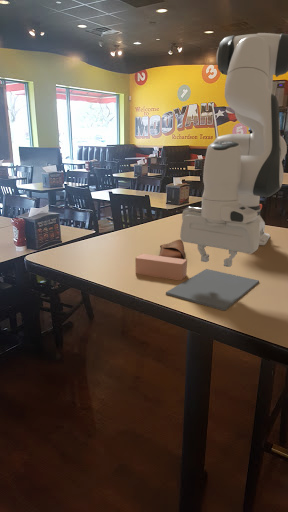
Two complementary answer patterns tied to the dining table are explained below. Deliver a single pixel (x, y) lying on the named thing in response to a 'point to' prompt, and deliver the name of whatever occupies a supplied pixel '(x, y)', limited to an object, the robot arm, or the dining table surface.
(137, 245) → the dining table surface
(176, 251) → the sunglasses case
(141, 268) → the pink rectangular brick
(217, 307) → the mat
